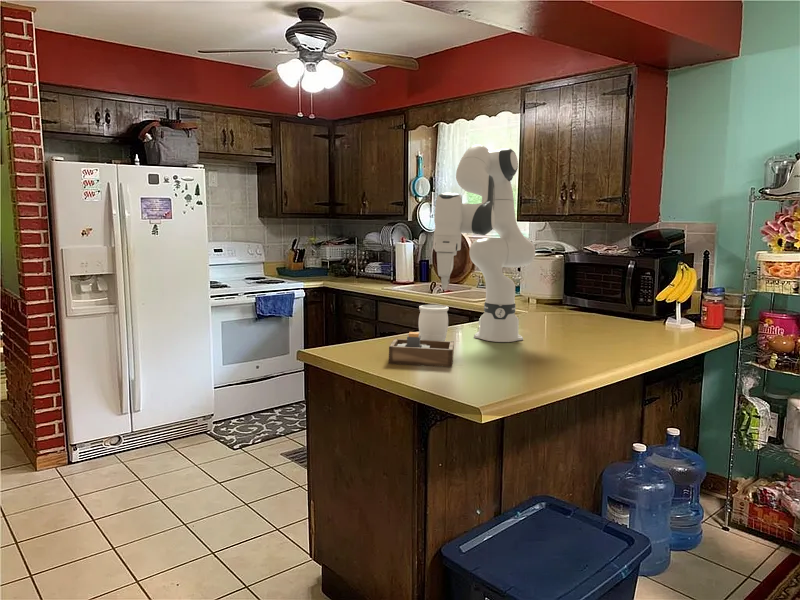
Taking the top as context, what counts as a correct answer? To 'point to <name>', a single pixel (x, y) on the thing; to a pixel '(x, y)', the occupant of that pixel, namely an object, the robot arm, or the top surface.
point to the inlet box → (422, 353)
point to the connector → (413, 339)
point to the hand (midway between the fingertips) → (445, 287)
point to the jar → (433, 322)
